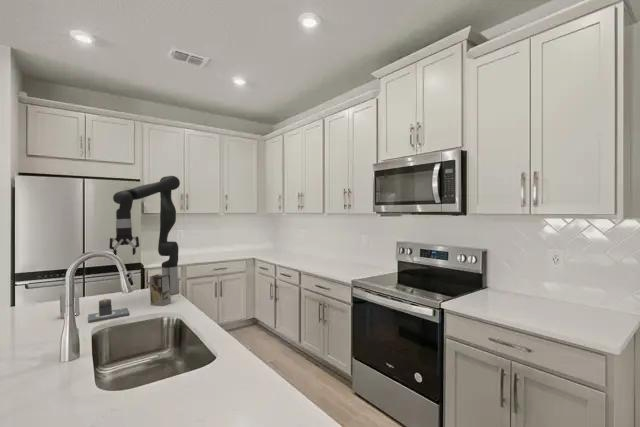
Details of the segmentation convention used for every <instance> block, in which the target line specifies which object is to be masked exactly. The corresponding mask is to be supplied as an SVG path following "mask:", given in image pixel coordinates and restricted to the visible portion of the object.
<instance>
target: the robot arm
mask: <svg viewBox="0 0 640 427" xmlns="http://www.w3.org/2000/svg"><path fill="white" fill-rule="evenodd" d="M180 182H181V181H180V179H179V177H177V176H176V175H175V176H174V175H167V176H162V177H161V178H160V179H159V181H157V182H153V183H148V184H143V185H140V186H136V187H134V188H131V189H123V190H121V191H117V192H115V193H114V194H113V196H112V200H113V202H114V203H116V204H118V205H119V207H118V208H117V209H116V210H115V215H116V217H115V219H116V220H115V233H116V236H115V237H114V238H113V237H110V238H109V250H113V253H114V254H115V255H118V254H117V252H118V251H117V249H118V247H120V246H128V245H129V246H131V247H132V248H131V250H132V255H133V256H134V255H135V254H136V253H137V251H136V249H137V248H139V247H140V240H139V236H137V235H136V236H133V232H132V231H133V228H132V227H133V225H132V214H131V211H132V207H133V202H134V201H138V200H141V199H144V198H147V197H150V196H153V195H155V194H158V193H159V194H160V195H159V196H160V212H159V237H158V244H157V251H158V255H159V256H161V257H168V260H165V261H163V262H162V263H161V275H170V296H173V295H176V294H179V293H180V279H179V271H178V270H179V267H178V265H179V244H178V242H177V241H172V240H171V241H168V236H169V233H170V232H171V230H172V228H174V225H175V224H176V220H177V210H176V207H175V204H174V202H173V199H172V191H174V190H175V191H176V190H177V189H178V188H179V187H180V184H181V183H180ZM133 240H134V241H135V245H134V243H132V241H133ZM115 241H116V244H115V245H114V246H113V243H114V242H115ZM114 254H113V255H114Z"/></svg>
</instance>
